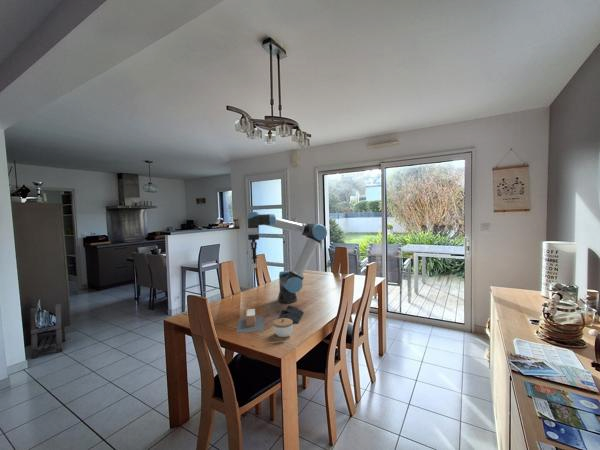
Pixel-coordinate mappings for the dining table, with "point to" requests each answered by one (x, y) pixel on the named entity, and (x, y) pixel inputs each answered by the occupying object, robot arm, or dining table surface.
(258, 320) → the mat
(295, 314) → the dark slate chunk
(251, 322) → the block
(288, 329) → the lidded jar
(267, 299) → the dining table surface
